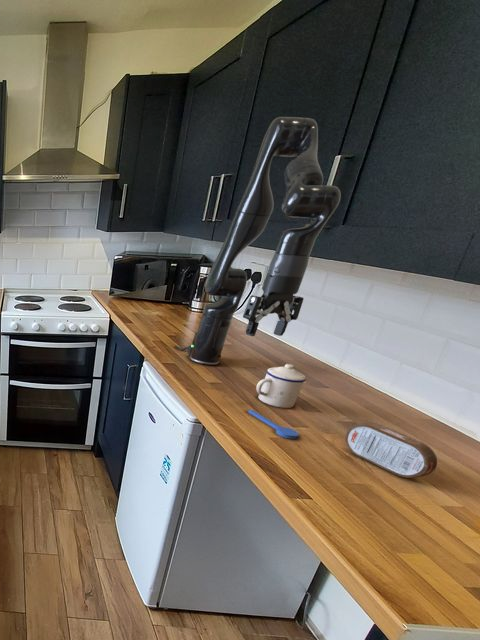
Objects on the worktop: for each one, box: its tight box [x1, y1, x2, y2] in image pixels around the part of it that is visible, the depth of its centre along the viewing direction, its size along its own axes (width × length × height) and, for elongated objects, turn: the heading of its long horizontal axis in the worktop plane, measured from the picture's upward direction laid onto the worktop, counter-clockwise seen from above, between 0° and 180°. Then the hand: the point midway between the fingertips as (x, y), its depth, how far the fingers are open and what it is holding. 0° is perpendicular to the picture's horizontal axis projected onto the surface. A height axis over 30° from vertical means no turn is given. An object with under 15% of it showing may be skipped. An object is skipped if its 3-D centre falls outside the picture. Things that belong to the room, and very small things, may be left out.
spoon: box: [247, 409, 299, 440], centre depth 104 cm, size 14×4×1 cm, turn 9°
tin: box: [345, 421, 438, 479], centre depth 87 cm, size 15×3×8 cm, turn 17°
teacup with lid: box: [256, 363, 307, 409], centre depth 115 cm, size 12×9×12 cm
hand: (263, 335), depth 107 cm, fingers open, 8 cm apart
